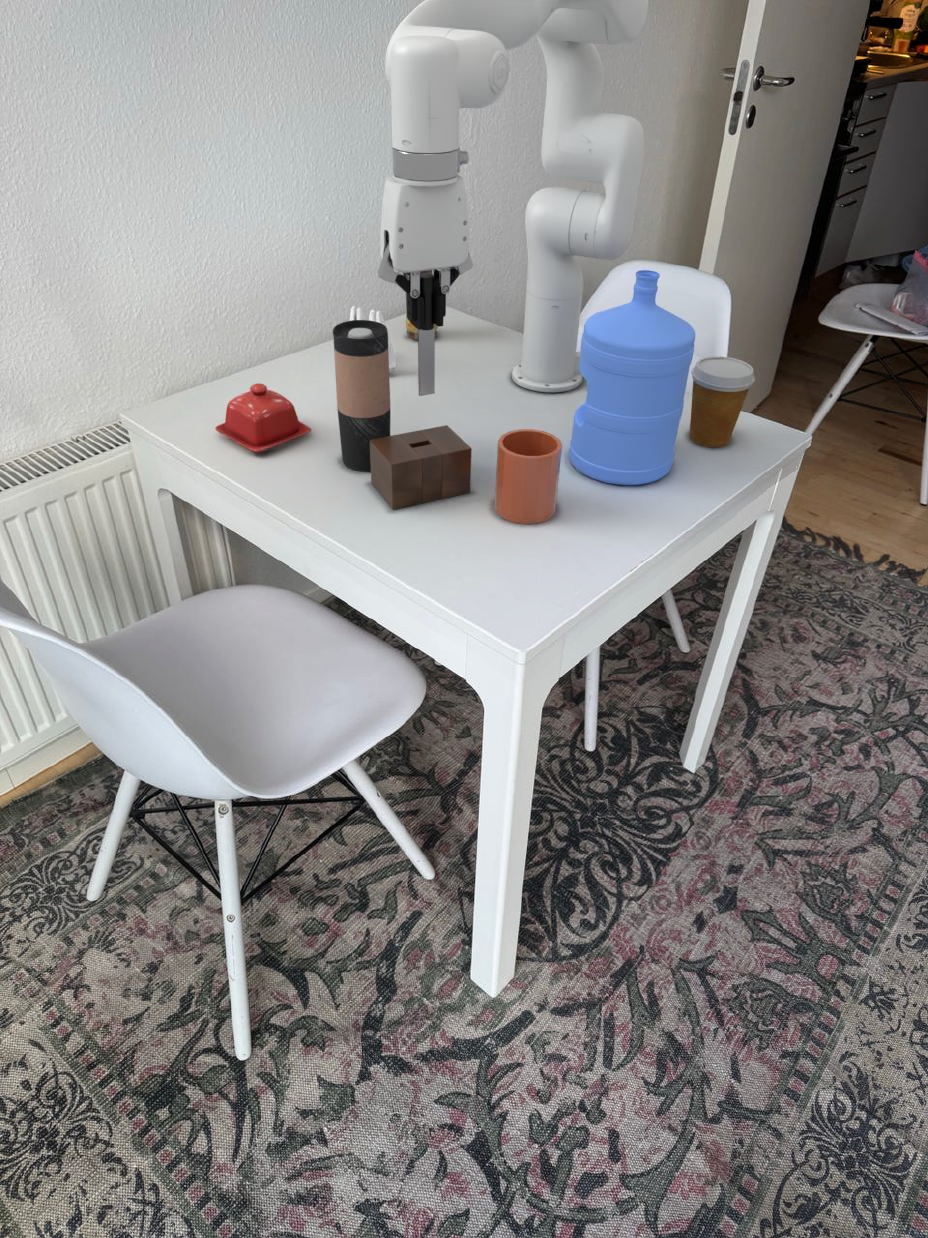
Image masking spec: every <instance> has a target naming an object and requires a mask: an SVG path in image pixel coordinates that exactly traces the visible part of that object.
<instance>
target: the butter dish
mask: <svg viewBox="0 0 928 1238" xmlns="http://www.w3.org/2000/svg"><path fill="white" fill-rule="evenodd" d="M224 420H225V421H224V422H223V423H221V424H218V425H217V426H215V428H214V429H215V431H216V432H218V433H219V434H221V435H222V436H224V437H226V438H228V439H230V440H231V441H234V442H235V443H237V444H238V445H240V446H241V447H244V448H246V449H247V450H249V451H252V452H254V453H260V452H263V451H266V450H269V449H272V448H274V447H277V446H279V445H281V444H285V443H287V442H290V441H291V440H294V439H297V438H299V437H302V436H304V435H307V434H309V433H310V432H312V428H311V427H310V426H308V425H307V424H305V423H303V422H301V421H300V420H299V418H298V415H297V411H296V408H295V406H294V404H293V403H292V402H291V401H290V400H289V399H287V397H285V396H284V395H282V394H280V393H278V392H276V391H275V390H271V389H268V387H267V385H265V384H264V383H253V384H252V385H251V386H250V387H249V391H247V392H244V393H240V394H239V395H236V396H235V397H234V398H232V399H231V400H229V402H228V403H227V406H226V411H225V419H224Z"/></svg>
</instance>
